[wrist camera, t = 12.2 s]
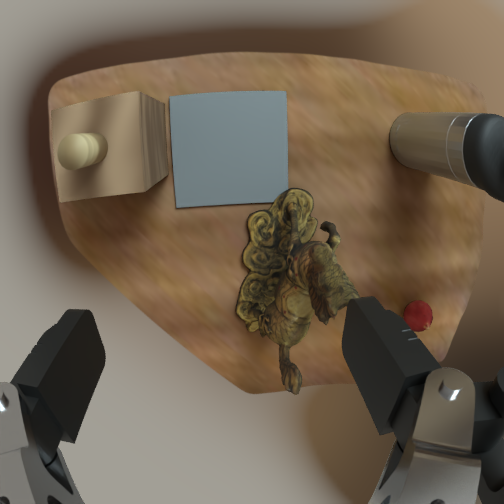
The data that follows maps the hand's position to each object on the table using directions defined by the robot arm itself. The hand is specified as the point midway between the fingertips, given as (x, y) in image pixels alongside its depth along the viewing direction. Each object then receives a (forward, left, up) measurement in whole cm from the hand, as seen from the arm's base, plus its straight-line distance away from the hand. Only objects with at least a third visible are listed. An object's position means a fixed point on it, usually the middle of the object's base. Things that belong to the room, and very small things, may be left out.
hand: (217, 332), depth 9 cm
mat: (-1, -4, -36) cm, 36 cm away
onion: (-34, +25, -36) cm, 56 cm away
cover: (+13, -6, -36) cm, 38 cm away
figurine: (-7, +14, -36) cm, 39 cm away
